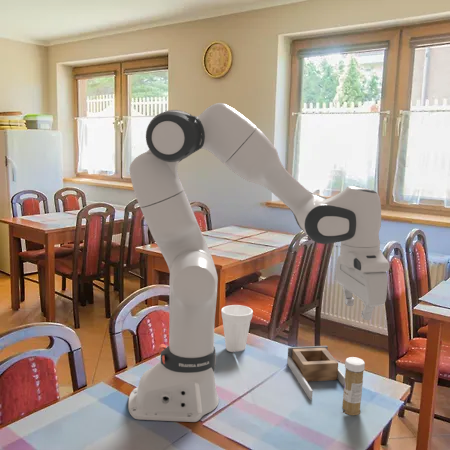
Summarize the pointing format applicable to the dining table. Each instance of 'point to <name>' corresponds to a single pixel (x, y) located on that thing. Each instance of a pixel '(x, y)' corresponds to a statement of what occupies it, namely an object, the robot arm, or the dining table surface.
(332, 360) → the crate
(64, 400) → the dining table surface
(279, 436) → the dining table surface
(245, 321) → the cup
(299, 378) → the bay
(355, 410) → the sprinkles bottle
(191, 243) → the robot arm
